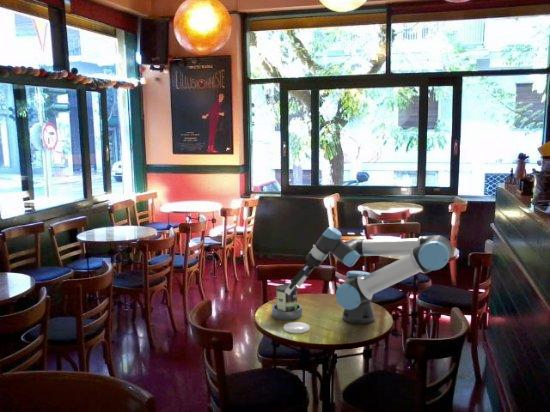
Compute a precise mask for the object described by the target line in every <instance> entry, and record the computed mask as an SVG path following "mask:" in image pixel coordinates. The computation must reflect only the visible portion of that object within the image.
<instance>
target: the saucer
mask: <svg viewBox="0 0 550 412" xmlns="http://www.w3.org/2000/svg"><path fill="white" fill-rule="evenodd" d="M310 329H311V328H310V325H309V324H308V323H305V322H301V321H293V322H287V323H285V324H284V325H283V331H284V332H285V333H288V334H289V333H290V334H295V335H297V334H304V333H307V332H309V331H310Z"/></svg>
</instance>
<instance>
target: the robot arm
mask: <svg viewBox="0 0 550 412" xmlns="http://www.w3.org/2000/svg"><path fill="white" fill-rule="evenodd" d="M342 235H343V234H342V232H341V231H340V230H338V228H336V227H334V226H329V227H327V228H326V230H325V231H324V232H323V233H322V234H321V236H320V237H319V238H318V239H317V241H316V242H315V244H313V245H312V248H311V249H310V251H309V252H308V253H307V255H306V257H305V259H306V261H307V262H305V264H303V266H302V268H301V269H300V270H299V271H298V272H297V273H296V275H295V276H294V277H293V278H292V279H290V283H289V286H288V287H287V289H286V290H285V292H286V293H287V294H288V295H290V293H291V292H292V291H293V289H294V288H295V286H297V287H298V288H299V287H301V286H302V285H303V283H304V282H305V281H306V279H307V278H309V277H310V276H311V273H312V271H313V270H314V269H315V268H318V267H319V268H320V266H321V265H322V263H323V262H324V260H326V259H327V257H328V256H329V254H330V253H331V254H332V255H333V256H334V257H336V258H337V259H338V260H340V261H341V262H342V264H344V265H345V266H347V267H349V268H351V267H353V266H354V265H355V264H356V263H357V261H358V260H359V259H360V257H365V256H366V257H368V256H369V257H371V256H373V257H374V256H377V257H378V256H380V257H382V256H385V257H386V256H403V257H401V258H399V259H397V260H395V261H393V262H392V263H390V264H387V265H385V266H382V267H381V268H379V269H377V270H375V271H372V272H367V271H362V270H349V271H347V272H346V280H345V281H344V282H343V283H341V284H340V285H339V286H338V287H337V289H336V292H335V299H336V301H337V304H338V305H339V306H340V307H341V308H343V311H342V319H343V321H345V322H347V323H351V324H358V325H359V324H360V325H364V324H365V325H366V324H370V323H372V322H374V321H375V312H374V308H373V305H372V299H373V295H374V294H377V293H378V292H381V291H383V290H384V289H387V288H389V287H391V286H394V285H395V284H397V283H400V282H402V281H404V280H406V279H408V278H411V277H412V276H414V275H417V274H419V273H422V274H428V273H430V272H432V271H437V270H440V269H442V268H444V267H445V266H446V265H447V264H448V262H449V260H450V257H451V255H452V253H453V245H452V243H451V241H450V240H449V238H447V237H445V236H443V235H438V234H437V235H435V234H434V235H421V236H419V237H418V238H395V239H394V238H388V239H386V238H384V239H359V238H355V237H354V238H351V239H349V240H348V241H347V242H345V241H343V240H342Z"/></svg>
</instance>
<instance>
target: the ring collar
mask: <svg viewBox="0 0 550 412" xmlns="http://www.w3.org/2000/svg"><path fill="white" fill-rule="evenodd" d="M271 316H272V318H275V319H277V320H282V321H291V320H292V321H293V320H297V319H299V318H301V317H302V316H303V306H302V305H301V304H300V303H297V310H294V311H279V310H277V302H276V303H274V304H273V305H272V306H271Z"/></svg>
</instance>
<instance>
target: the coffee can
mask: <svg viewBox="0 0 550 412" xmlns="http://www.w3.org/2000/svg"><path fill="white" fill-rule="evenodd" d="M289 284H290V283H289ZM289 284H288V283H287V284H286V283H285V284H279V285H277V286H276V287H275V289H276V303H277V310H279V311H294V310H297V304H298V285H296V286H295V288H294V289H293V291H292V292H291V293H290V295H288V294H287V293H286V292H285V290H286V289H287V287H288V286H289Z"/></svg>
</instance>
